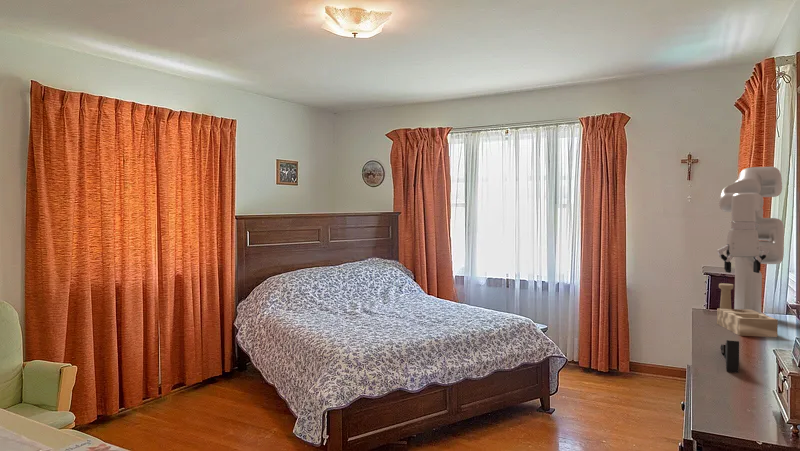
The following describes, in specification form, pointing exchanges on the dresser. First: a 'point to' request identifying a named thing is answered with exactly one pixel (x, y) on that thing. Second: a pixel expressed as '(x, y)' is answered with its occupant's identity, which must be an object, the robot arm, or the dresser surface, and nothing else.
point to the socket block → (747, 322)
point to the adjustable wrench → (731, 355)
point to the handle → (725, 295)
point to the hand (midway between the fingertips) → (742, 272)
